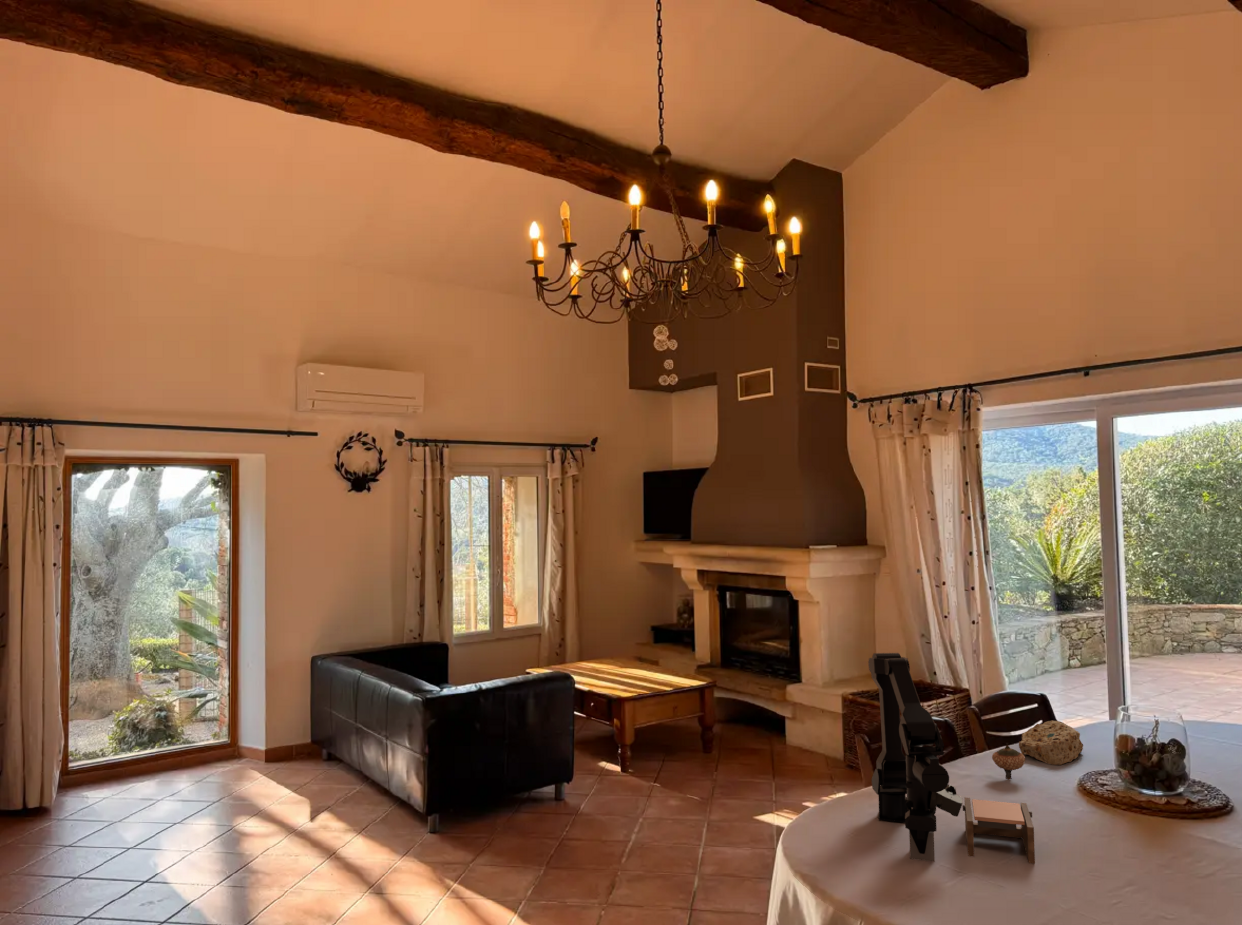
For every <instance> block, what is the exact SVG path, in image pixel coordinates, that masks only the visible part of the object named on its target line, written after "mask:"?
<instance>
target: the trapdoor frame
mask: <svg viewBox="0 0 1242 925" xmlns="http://www.w3.org/2000/svg"><path fill="white" fill-rule="evenodd" d="M963 798H964V799H963V800H964V804H962V812H963V811H964V825H965V826H964V827H965V829H964V830H965V837H966V840H965V841H966V848H967V856H968V857H973V858H975V842H974V840H975V839H974V834H978V835H979V834H980V835H989V836H990V835H991V836H998V837H999V836H1001V837H1005V838H1006V837H1009V838H1017V839H1018V838H1019V839H1022V843H1023V846H1024V850H1025V854H1026V856H1027V857H1026V858H1027V860H1028V864H1032V865H1033V864H1034V865H1035V864H1036V855H1035V854H1036V852H1035V850H1036V849H1035V829H1034V828H1035V827H1034V824H1033V821H1032V818H1033V812H1032V811H1029V807H1028V804H1027V803H1026V802H1020V807H1021V811H1022V814H1023V818H1024V821H1025V825H1020V826H1016V830H1008V829H998V828H988V827H979V826H978V822H974V816H973V811H972V810H973V809H972V801H971V798H970V797H966V796H965V797H963Z"/></svg>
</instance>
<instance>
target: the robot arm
mask: <svg viewBox="0 0 1242 925" xmlns="http://www.w3.org/2000/svg"><path fill="white" fill-rule="evenodd" d="M867 662H868V663H867V664H868V671H869V672H870V675H871V679H872V680H873V681H872V682H874V684H875V685H876V687H877V688H878V695H879V697H878V698H879V712H880V713H879V715H880V727H881V728H880V729H881V747H882V749H881V752H880V753H879V755H878V757H877V759H876V762H875V763H876V768H875V769H874V772H873V774H872V777H871V787H872V789H873V790H872V791H874V793H876V795H877V797H878V817H877V819H878V820H879V821H885V822H895V823H905V829H907V830H908V831H910V833H911V835H912V837H913V840H914V842H915V844H916V846H917V849H918V851H919V853H921V854H925V850H926V845H927V839H928V834H929V832H930V831H931V832H934V833H935V832H937V815H936V811H937V809H939V810H941V811H944V812H946V813H948V814H950V815H951V816H953V817H959V815H960V812H961V809H962V807H963V805H964V804H963V797H962V796H961V795H960V794H957V789H956V786H954V785H952V784H949V782H950V775H949V772H948V770H947V769H946V768H945V767H944V766H943V765H942V764H941V763H940V759H939V758H938V756H944V755H945V751H944V749H945V744H944V740H943V738H942V735H941V732H940V729H939V727H938V724H937V723H935V721H934V718H933V716H932V714H931V713H930V711H928V710H927V709H925V707H923V705H922V704H921V701H920V697H919V695H918V692H917V689H916V686H915V684H914V681H913V677H912V675H911V672H910V669H911V668H910V661H909V658H908V657H904V656H901V654H900V653H899V652H876V653H875V652H874V653H873V654H872V657H869V658H868V661H867ZM933 745H935V746H933ZM903 749H904V752H903ZM904 753H905V754H904Z"/></svg>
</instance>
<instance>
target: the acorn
mask: <svg viewBox="0 0 1242 925" xmlns="http://www.w3.org/2000/svg"><path fill="white" fill-rule="evenodd" d="M991 759H992V760H993V762H994V764H995V765H996V766H997V767H998V768H1000V769H1003V771H1004V772H1005V779H1006V780H1009V781H1010V780H1013V778H1012V772H1013V771H1016V770H1019V769H1021V768H1022V767H1023V766H1024V765H1025V762H1026V757H1025V754H1024V755H1023V754H1022V753H1021V751H1018V750H1016V749H1014V748H1011V747H1010V745H1009V743H1008V742H1006V743H1005V746H1004V748H1001V749H998V750H997V751H995V752H994V753H992V756H991Z"/></svg>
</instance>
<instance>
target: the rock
mask: <svg viewBox="0 0 1242 925" xmlns="http://www.w3.org/2000/svg"><path fill="white" fill-rule="evenodd" d="M1080 736H1081V733H1080V732H1079V731H1078V730H1076V729H1075V728H1073V727H1072V726H1070V725H1068V724H1067V723H1064V722H1063V721H1059V720H1048V721H1045V722H1043V723H1036V724H1034V726H1033V727H1030V728H1029V729H1028V730H1026V731H1025V732H1022V733H1021V741H1018V748H1019V750H1020V753H1022V754H1023V755H1024V756H1025V755H1028V756H1030V757H1031V758H1034V759H1036V760H1039V761H1041V762H1043V763H1045V764H1048V765H1052V766H1053V765H1054V766H1062V765H1064V764H1065V763H1066V764H1067V763H1071V762H1072V761H1073V760H1075V759H1077V758H1078V757H1079V754H1082V752H1083V750H1084V744H1083V742H1082V741H1081V739H1080Z"/></svg>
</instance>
